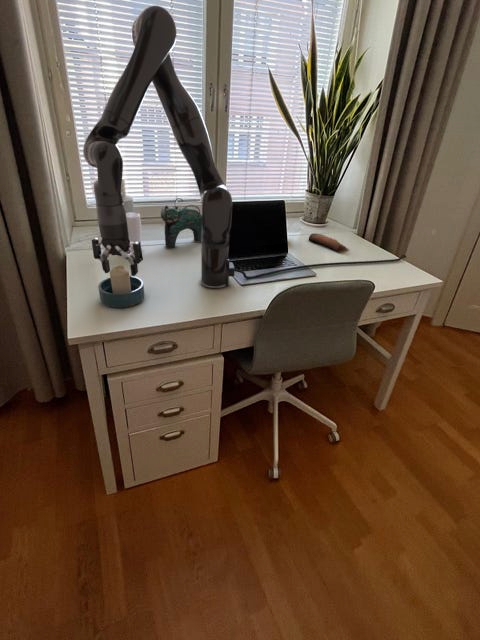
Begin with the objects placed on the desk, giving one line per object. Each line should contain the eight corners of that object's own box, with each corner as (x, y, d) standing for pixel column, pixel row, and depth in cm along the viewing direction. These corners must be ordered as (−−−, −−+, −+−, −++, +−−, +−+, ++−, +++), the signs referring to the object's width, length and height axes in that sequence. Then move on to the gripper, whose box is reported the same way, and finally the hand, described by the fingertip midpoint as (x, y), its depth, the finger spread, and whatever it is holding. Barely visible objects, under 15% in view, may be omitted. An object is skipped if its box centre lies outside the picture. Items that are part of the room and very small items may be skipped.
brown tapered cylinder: (349, 248, 161) (347, 237, 156) (339, 258, 159) (337, 247, 154) (319, 237, 172) (316, 226, 167) (310, 246, 171) (307, 236, 166)
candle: (126, 302, 107) (122, 272, 101) (110, 299, 108) (105, 269, 102) (134, 294, 111) (131, 265, 106) (119, 291, 112) (114, 262, 107)
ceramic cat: (167, 250, 147) (164, 201, 136) (159, 245, 151) (156, 198, 140) (206, 242, 158) (206, 196, 147) (198, 238, 162) (197, 193, 152)
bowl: (145, 288, 116) (144, 275, 114) (142, 308, 105) (141, 294, 103) (104, 289, 114) (102, 275, 111) (97, 309, 103) (94, 295, 100)
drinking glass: (144, 253, 142) (141, 216, 134) (127, 254, 140) (123, 217, 132) (142, 247, 148) (138, 212, 140) (125, 249, 145) (121, 212, 137)
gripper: (142, 218, 98) (148, 271, 107) (95, 214, 100) (105, 266, 109) (130, 226, 92) (138, 281, 101) (81, 221, 94) (92, 276, 102)
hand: (120, 273), depth 105 cm, fingers open, 8 cm apart
